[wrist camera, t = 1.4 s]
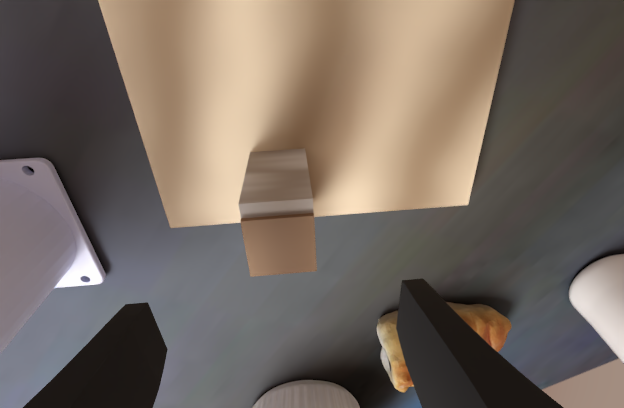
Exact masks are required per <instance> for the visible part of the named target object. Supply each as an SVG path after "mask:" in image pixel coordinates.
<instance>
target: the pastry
mask: <svg viewBox="0 0 624 408" xmlns="http://www.w3.org/2000/svg"><path fill="white" fill-rule="evenodd" d="M446 303H447V304H448V305H449V306H450V307H451V308H452V309H453V310H454V311H455V312H456V313H457V314H458V315H459V316H460V317H461V318H462V319H463V320H464V321H465V322H466V323H467V324H468V325H469V326H470V327H471V328H472V329H473V330H474V331H475V332H477V333H478V334H479V335H480V336H481V337H482V338H483V339H484V340H485V341H486V342H487V343H488V344H489V345H490V346H491V347H492V348H493V349H495V350H496V351H497V352H498V351H500V349H501V348H502V347H503V345H504V343H505V340H506V338H507V334H508V332H509V330H510V329H511V323H510V321H509V320H508V319H507V318H506V317H505V316H503V315H501V314H500V313H499V312H497V311H496V310H494V309H493V308H491V307H490V306H487V305H482V304H473V305H465V304H456V303H451V302H446ZM397 317H398V311H394V312H392V313H388V314H386V315H384V316H382V317H381V318H380V319H379V320H378V321H379V322H378V325H377V335H378V337H379V340H380V343H381V345H382V350H381V359H382V364H383V366H384V368H385V370H386V371H387V372H388V375H389V377H390V380H391V381H392V383H393V385H394V387H395V388H396V389H397V390H398V391H400V392H405V391H406V390H407V389H408V387H410V386H414V385H413V382H412V380H411V377H410V374H409V372H408V369H407V366H406V364H405V360H404V357H403V353H402V349H401V346H400V342H399V338H398V334H397V330H396V325H397Z"/></svg>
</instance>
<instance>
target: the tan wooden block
mask: <svg viewBox="0 0 624 408" xmlns="http://www.w3.org/2000/svg"><path fill="white" fill-rule="evenodd" d="M238 205H239V210H240V216H241V221H240V222H241V227H242V233H243V238H244V244H245V249H246V254H247V260H248V265H249V271H250V276H251V277H252V276H264V275H276V274H288V273H299V272H311V271H317V267H316V247H315V226H314V212H313V196H312V190H311V183H310V177H309V171H308V164H307V158H306V151H305V148H303V149H289V150H275V151H260V152H250V155H249V159H248V163H247V168H246V172H245V177H244V181H243V186H242V190H241V195H240V199H239V204H238Z"/></svg>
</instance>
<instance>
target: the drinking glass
mask: <svg viewBox="0 0 624 408" xmlns="http://www.w3.org/2000/svg"><path fill="white" fill-rule="evenodd" d="M569 299H570V301H571V303H572V305H573V306H574V308H575V309H576V310H577V311H578V312H579V313H580V314H581V315H582V316H583V317H584V318H585V319H586V320H587V321H588V322H589V323H590V324H591V326H592V327H593V328H594V329H595V330H596V331H597V333H598V334H599V335H600V336H601V337H602V339H603V340H604V341H605V342H606V343H607V344H608V346H609V347H610V348H611V349H612V350H613V352H614V353H615V354H616V355H617V356H618V358H619V359H620V360H621V361H622V362H623V364H624V254H617V255H612V256H608V257H605V258H602V259H600V260H597V261H595V262H593V263H592V264H590V265H589V266H587V267H586V268H584V269H583V270H582V271H581V272H580V273H579V274H578V275H577V276H576V277H575V279H574V280H573V282H572V283H571V286H570V288H569Z"/></svg>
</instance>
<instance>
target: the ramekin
mask: <svg viewBox="0 0 624 408" xmlns="http://www.w3.org/2000/svg"><path fill="white" fill-rule="evenodd" d="M252 408H360V406H359V404H358V402H357V400H356V399H355V398H354V396H353V395H352V394H351V393H350V392H348V391H347V390H346V389H345V388H343V387H342V386H340V385H337V384H335V383H332V382H327V381H321V380H299V381H293V382H289V383H285V384H282V385H279V386H277V387H275V388H273V389H271V390H269V391H268V392H266V393H265V394H264V395H263V396H262V397H261V398H260V399H259V400H258V401H257V402H256V403H255V405H254V406H253V407H252Z"/></svg>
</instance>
